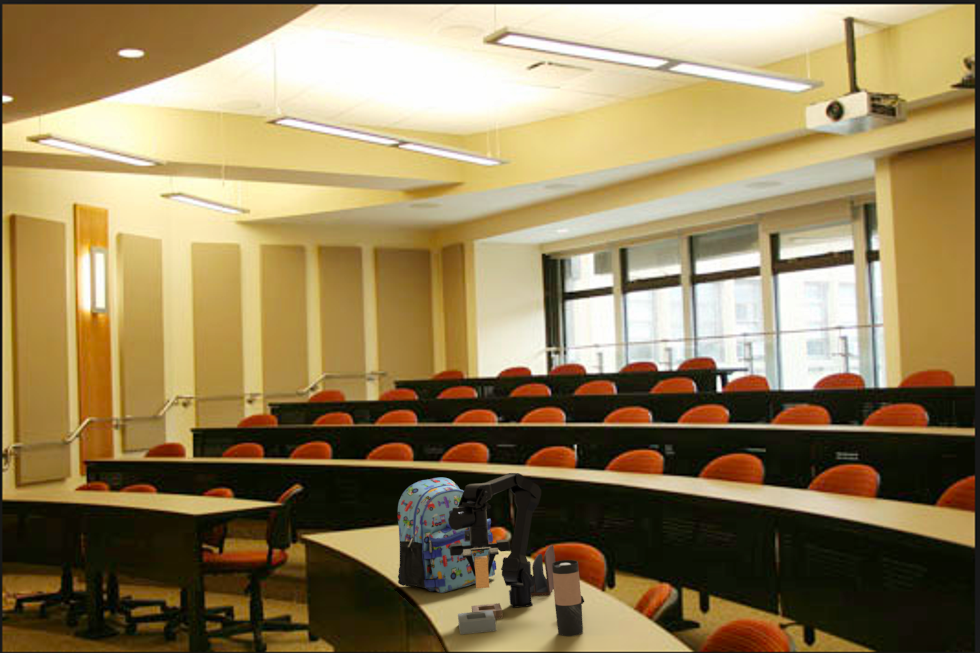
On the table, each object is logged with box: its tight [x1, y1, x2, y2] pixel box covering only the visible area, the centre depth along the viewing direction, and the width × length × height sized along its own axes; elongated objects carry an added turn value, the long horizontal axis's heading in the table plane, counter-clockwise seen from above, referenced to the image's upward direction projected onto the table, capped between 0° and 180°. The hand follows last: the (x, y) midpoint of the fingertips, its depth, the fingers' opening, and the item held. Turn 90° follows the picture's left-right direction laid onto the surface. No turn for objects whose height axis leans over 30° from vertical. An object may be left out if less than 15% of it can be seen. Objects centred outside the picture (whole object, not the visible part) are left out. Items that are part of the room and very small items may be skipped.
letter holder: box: [527, 544, 556, 597], centre depth 348 cm, size 10×20×14 cm, turn 169°
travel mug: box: [552, 559, 584, 637], centre depth 290 cm, size 8×8×20 cm
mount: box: [470, 602, 504, 620], centre depth 316 cm, size 9×9×2 cm
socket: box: [457, 610, 497, 635], centre depth 303 cm, size 11×11×4 cm
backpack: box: [397, 477, 497, 594], centre depth 369 cm, size 34×25×38 cm
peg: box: [474, 556, 490, 590], centre depth 315 cm, size 4×4×9 cm
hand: (481, 575), depth 314 cm, fingers closed on peg, 4 cm apart
